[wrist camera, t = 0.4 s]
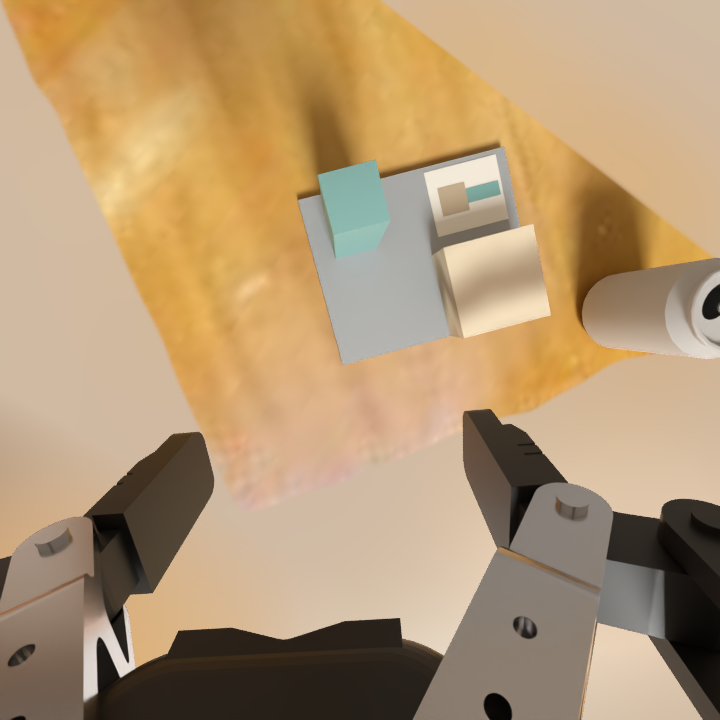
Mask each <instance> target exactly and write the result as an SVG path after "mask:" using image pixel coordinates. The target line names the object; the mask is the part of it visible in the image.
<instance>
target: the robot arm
mask: <svg viewBox="0 0 720 720" xmlns="http://www.w3.org/2000/svg"><path fill="white" fill-rule="evenodd" d="M463 461H464V468H465V473H466V476H467V479H468V481H469V484H470V486H471V488H472V491H473V493H474V495H475V498H476V500H477V502H478V505H479V507H480V509H481V511H482V514H483V516H484V519H485V521H486V523H487V526H488V528H489V530H490V533H491V535H492V537H493V540H494V542H495V544H496V546H497V548H498V549H497V551H496V553H495V554H494V556H493V558H492V560H491V562H490V564H489V566H488V568H487V570H486V573H485V574H484V576H483V579H482V580H481V583H480V585H479V587H478V589H477V591H476V593H475V595H474V597H473V599H472V601H471V603H470V605H469V607H468V609H467V611H466V613H465V615H464V617H463V619H462V621H461V623H460V625H459V627H458V629H457V631H456V633H455V635H454V637H453V639H452V642H451V643H450V645H449V647H448V650H447V651H446V653H445V655H444V656H443V655H442V654H440V653H438V652H436V651H434V650H433V649H431V648H429V647H427V646H424V645H422V644H419V643H416V642H414V641H410V640H406V639H402V635H401V623H400V618H394V619H377V620H359V621H344V622H341V623H338V624H335V625H332V626H328V627H325V628H322V629H319V630H316V631H313V632H310V633H307V634H304V635H301V636H298V637H294V638H291V639H286V640H282V639H276V638H272V637H268V636H264V635H260V634H256V633H252V632H247V631H243V630H239V629H235V628H220V629H201V630H184V631H178V633H177V635H176V638H175V640H174V642H173V644H172V646H171V648H170V650H169V652H168V654H165V655H163V656H160V657H158V658H156V659H153V660H151V661H149V662H147V663H145V664H143V665H141V666H139V667H137V668H135V661H134V653H133V645H132V637H131V629H130V622H129V614H128V610H127V608H126V605H125V602H126V600H127V599H128V597H129V596H130V595H131V594H147V593H153V592H154V590H155V588H156V587H157V585H158V583H159V582H160V580H161V578H162V576H163V575H164V573H165V572H166V570H167V568H168V567H169V565H170V563H171V562H172V560H173V558H174V557H175V555H176V553H177V552H178V550H179V548H180V547H181V545H182V544H183V542H184V540H185V538H186V537H187V535H188V534H189V532H190V530H191V529H192V527H193V525H194V524H195V522H196V520H197V519H198V517H199V515H200V514H201V512H202V510H203V509H204V507H205V505H206V504H207V502H208V500H209V498H210V497H211V495H212V492H213V488H214V476H213V471H212V467H211V463H210V460H209V456H208V452H207V448H206V444H205V440H204V437H203V436H202V434H201V433H200V432H191V433H179V434H173V435H171V436H170V437H169V438H168V439H167V440H166V441H165V442H164V443H163V444H162V445H161V446H160V447H159V448H158V449H157V450H156V451H155V452H154V453H152V454H150V455H149V456H147V457H145V458H144V459H143V460H141V461H139V462H138V463H137V464H136V465H135V466H134V467H133V468H132V469H131V470H130V471H129V472H128V473H127V476H124V477H123V478H122V479H120V480H119V481H118V483H117V485H116V486H113V487H112V488H111V489H110V490H109V491H108V492H107V493H106V494H105V495H104V496H103V497H102V498H101V499H100V500H99V501H98V502H97V503H96V504H95V505H94V506H93V507H92V508H91V509H90V510H89V511H88V512H87V513H86V514H85V515H84V516H83V517H73V518H68V519H64V520H61V521H58V522H56V523H53V524H51V525H49V526H47V527H45V528H43V529H41V530H39V531H38V532H36V533H35V534H33V535H32V536H30V537H29V538H28V539H26V540H25V541H24V542H23V543H22V544H21V545H19V547H18V548H17V549H16V550H15V552H14V553H13V555H12V556H10V557H6V558H2V559H0V720H582V715H583V709H584V703H585V696H586V690H587V684H588V678H589V672H590V665H591V660H592V654H593V647H594V641H595V635H596V629H597V623H601V624H606V625H609V626H613V627H617V628H622V629H626V630H629V631H633V632H638V633H642V634H646V635H648V636H649V638H650V639H651V641H652V642H653V644H654V645H655V647H656V648H657V650H658V652H659V653H660V655H661V656H662V658H663V659H664V661H665V662H666V664H667V665H668V667H669V668H670V669H671V671H672V673H673V674H674V676H675V678H676V679H677V680H678V682H679V684H680V685H681V687H682V688H683V690H684V691H685V693H686V694H687V696H688V697H689V699H690V700H691V702H692V703H693V705H694V707H695V708H696V710H697V711H698V713H699V714H700V716H701V717H702V719H703V720H720V506H718V505H715V504H712V503H708V502H704V501H699V500H692V499H677V500H676V499H675V500H671V501H669V502H667V503H665V504H664V506H663V507H662V511H661V515H660V519H656V518H650V517H643V516H636V515H630V514H624V513H618V512H614V511H612V509H611V507H610V505H609V504H608V503H607V502H606V501H605V500H604V499H603V498H602V497H601V496H599V495H598V494H596V493H595V492H593V491H591V490H589V489H586V488H584V487H581V486H578V485H574V484H569V483H568V482H567V481H566V480H565V478H564V477H563V476H562V475H561V474H560V472H559V471H558V470H557V469H556V468H555V467H554V465H553V464H552V463H551V462H550V461H549V459H548V458H547V457H546V456H545V455H544V454H542V451H541V450H540V449H539V447H538V446H537V445H535V443H534V441H533V440H532V439H531V438H530V437H529V436H528V434H527V433H526V432H524V431H522V430H521V429H519V428H517V427H515V426H514V425H512V424H506V425H502V424H501V422H500V421H499V420H498V418H497V417H496V416H495V414H494V413H493V412H492V410H491V409H484V410H472V411H464V414H463Z"/></svg>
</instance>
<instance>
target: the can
mask: <svg viewBox="0 0 720 720" xmlns="http://www.w3.org/2000/svg"><path fill="white" fill-rule="evenodd" d="M582 320H583V325H584V328H585V330H586V332H587V334H588V335H589V336H590V337H591V338H592V339H593V340H594V341H595V342H596V343H597V344H599V345H602V346H604V347H606V348H615V349H624V350H633V351H641V352H650V353H659V354H668V355H677V356H686V357H695V358H704V359H712V358H717V357H720V258H713V259H706V260H700V261H694V262H688V263H681V264H675V265H669V266H662V267H656V268H650V269H644V270H637V271H631V272H625V273H619V274H614V275H609V276H607V277H605V278H603V279H601V280H600V281H598V282H597V283H596V284H595V285H594V286H593V287H592V288H591V289H590V290H589V292H588V294H587V296H586V298H585V300H584V303H583V309H582Z"/></svg>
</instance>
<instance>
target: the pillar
mask: <svg viewBox="0 0 720 720" xmlns="http://www.w3.org/2000/svg"><path fill="white" fill-rule="evenodd" d="M318 180H319V186H320V192H321V198H322V204H323V210H324V216H325V220H326V224H327V228H328V231H329V235H330V239H331V243H332V246H333V250H334V254H335V258H336V259H337V258H341V257H345V256H349V255H352V254H356V253H360V252H364V251H367V250H371V249H375V248H377V246H378V244H379V242H380V240H381V238H382V236H383V234H384V232H385V230H386V228H387V226H388V224H389V222H390V216H389V212H388V208H387V204H386V200H385V196H384V192H383V188H382V183H381V179H380V175H379V171H378V167H377V163H376V160H373V161H369V162H365V163H361V164H357V165H353V166H349V167H346V168H342V169H338V170H334V171H330V172H326V173H322V174H319V175H318Z"/></svg>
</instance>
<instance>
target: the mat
mask: <svg viewBox="0 0 720 720" xmlns="http://www.w3.org/2000/svg"><path fill="white" fill-rule="evenodd" d="M381 183H382V188H383V192H384V196H385V200H386V204H387V208H388V212H389V216H390V222H389V224H388V226H387V228H386V230H385V232H384V234H383V236H382V238H381V240H380V242H379V244H378V246H377V248H375V249H371V250H367V251H364V252H360V253H356V254H352V255H349V256H345V257H341V258H337V259H336V258H335V254H334V250H333V246H332V243H331V239H330V235H329V231H328V228H327V224H326V220H325V216H324V210H323V204H322V198H321V194H320V195H316V196H312V197H308V198H304V199H300V200H298V202H299V206H300V210H301V213H302V217H303V221H304V224H305V228H306V232H307V235H308V239H309V243H310V246H311V250H312V253H313V257H314V261H315V264H316V268H317V272H318V275H319V279H320V283H321V286H322V290H323V294H324V297H325V301H326V305H327V308H328V312H329V316H330V319H331V323H332V327H333V330H334V334H335V338H336V341H337V345H338V348H339V352H340V356H341V359H342V363H343V365H345V364H349V363H352V362H356V361H360V360H364V359H367V358H371V357H375V356H378V355H382V354H386V353H390V352H393V351H397V350H401V349H404V348H408V347H412V346H416V345H419V344H423V343H427V342H430V341H434V340H438V339H441V338H445V337H449V336H450V332H449V328H448V323H447V319H446V315H445V310H444V306H443V302H442V297H441V293H440V289H439V285H438V280H437V276H436V272H435V267H434V263H433V259H432V255H433V254H435V253H436V252H438V251H439V250H441V249H442V248H444V247H448V246H452V245H455V244H459V243H463V242H467V241H471V240H474V239H478V238H482V237H486V236H489V235H493V234H497V233H501V232H505V231H508V230H512V229H516V228H520V223H519V218H518V213H517V208H516V203H515V198H514V193H513V188H512V183H511V178H510V173H509V168H508V163H507V158H506V153H505V148H504V147H500V148H497V149H493V150H489V151H485V152H481V153H477V154H473V155H470V156H466V157H462V158H458V159H454V160H450V161H447V162H443V163H439V164H435V165H431V166H427V167H423V168H420V169H416V170H412V171H408V172H404V173H400V174H397V175H393V176H389V177H385V178H381Z"/></svg>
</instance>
